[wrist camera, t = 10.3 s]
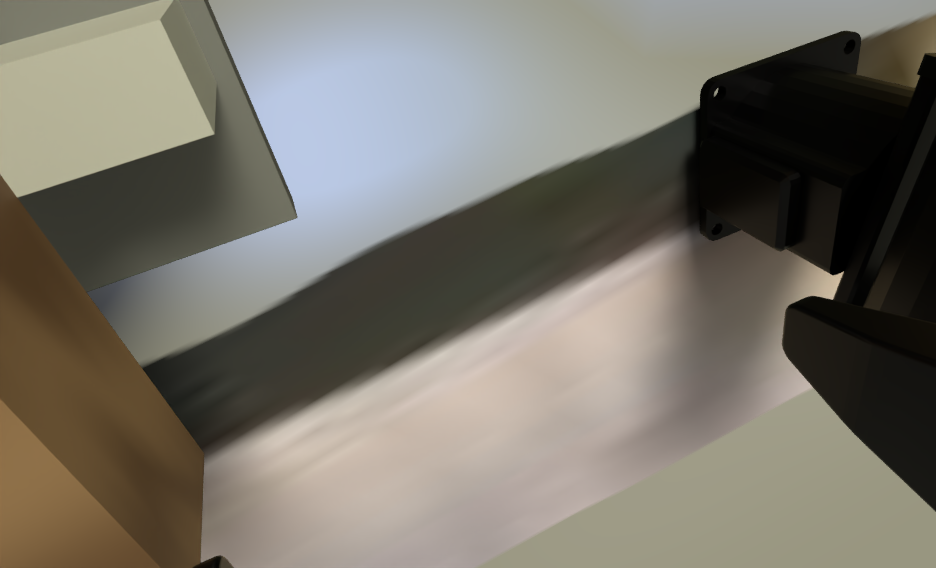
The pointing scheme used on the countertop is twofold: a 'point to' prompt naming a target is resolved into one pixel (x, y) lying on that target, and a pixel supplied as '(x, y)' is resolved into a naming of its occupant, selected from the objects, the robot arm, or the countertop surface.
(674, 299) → the countertop surface
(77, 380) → the walnut beam
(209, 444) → the countertop surface
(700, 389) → the countertop surface
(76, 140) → the ridge stand
